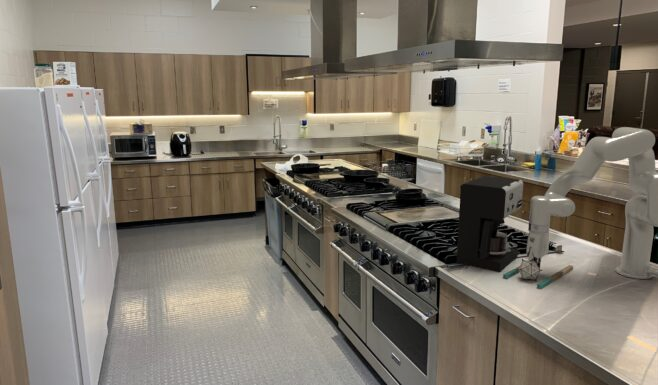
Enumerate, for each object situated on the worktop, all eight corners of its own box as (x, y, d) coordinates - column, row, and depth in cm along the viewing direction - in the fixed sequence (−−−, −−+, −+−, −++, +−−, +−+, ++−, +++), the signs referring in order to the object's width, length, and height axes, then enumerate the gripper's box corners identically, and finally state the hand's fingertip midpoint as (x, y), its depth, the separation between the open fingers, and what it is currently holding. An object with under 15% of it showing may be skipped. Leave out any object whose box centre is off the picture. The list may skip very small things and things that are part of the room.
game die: (529, 286, 191) (543, 265, 191) (535, 287, 182) (549, 265, 183) (509, 273, 192) (522, 252, 193) (514, 274, 184) (528, 252, 185)
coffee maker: (498, 275, 192) (504, 189, 185) (451, 265, 204) (456, 184, 197) (519, 257, 214) (525, 179, 207) (476, 248, 226) (480, 174, 218)
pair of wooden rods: (572, 269, 199) (573, 265, 199) (540, 289, 179) (541, 285, 179) (536, 260, 210) (537, 257, 209) (502, 278, 190) (503, 274, 190)
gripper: (539, 233, 181) (535, 279, 184) (556, 226, 190) (552, 270, 194) (520, 229, 186) (516, 274, 190) (538, 222, 196) (534, 265, 200)
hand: (534, 271), depth 192 cm, fingers closed
